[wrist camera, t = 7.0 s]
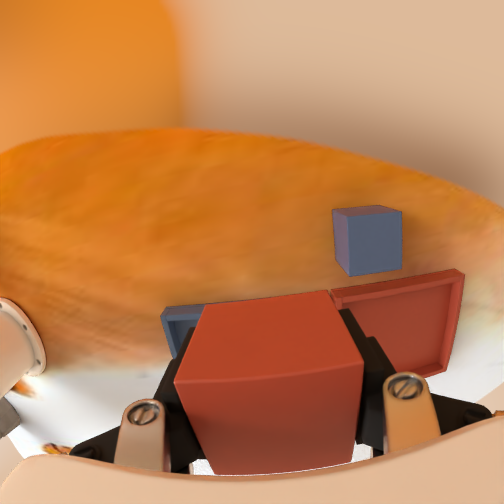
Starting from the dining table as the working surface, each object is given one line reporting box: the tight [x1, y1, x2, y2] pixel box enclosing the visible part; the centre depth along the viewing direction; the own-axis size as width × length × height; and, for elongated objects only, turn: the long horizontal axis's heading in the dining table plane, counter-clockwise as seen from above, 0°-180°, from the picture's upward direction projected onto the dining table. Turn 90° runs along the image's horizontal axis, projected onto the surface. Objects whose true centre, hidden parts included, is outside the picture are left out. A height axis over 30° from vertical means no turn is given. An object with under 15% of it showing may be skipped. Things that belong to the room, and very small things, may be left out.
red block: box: [174, 290, 364, 475], centre depth 9 cm, size 4×4×4 cm
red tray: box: [331, 269, 465, 378], centre depth 25 cm, size 14×12×2 cm
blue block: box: [332, 205, 402, 277], centre depth 22 cm, size 4×4×4 cm
